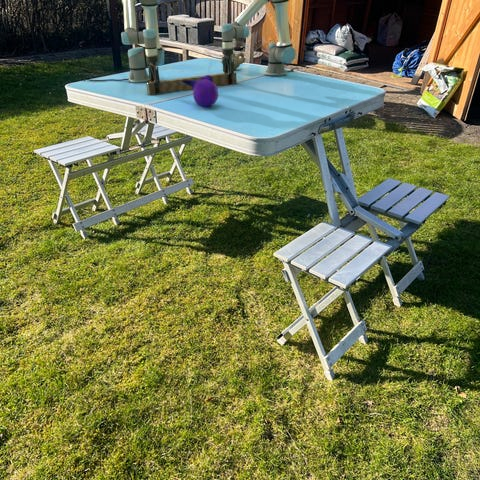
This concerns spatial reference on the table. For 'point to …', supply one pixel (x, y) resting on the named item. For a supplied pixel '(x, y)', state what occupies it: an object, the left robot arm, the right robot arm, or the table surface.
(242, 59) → the teapot
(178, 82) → the bar
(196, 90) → the toy
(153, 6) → the left robot arm
